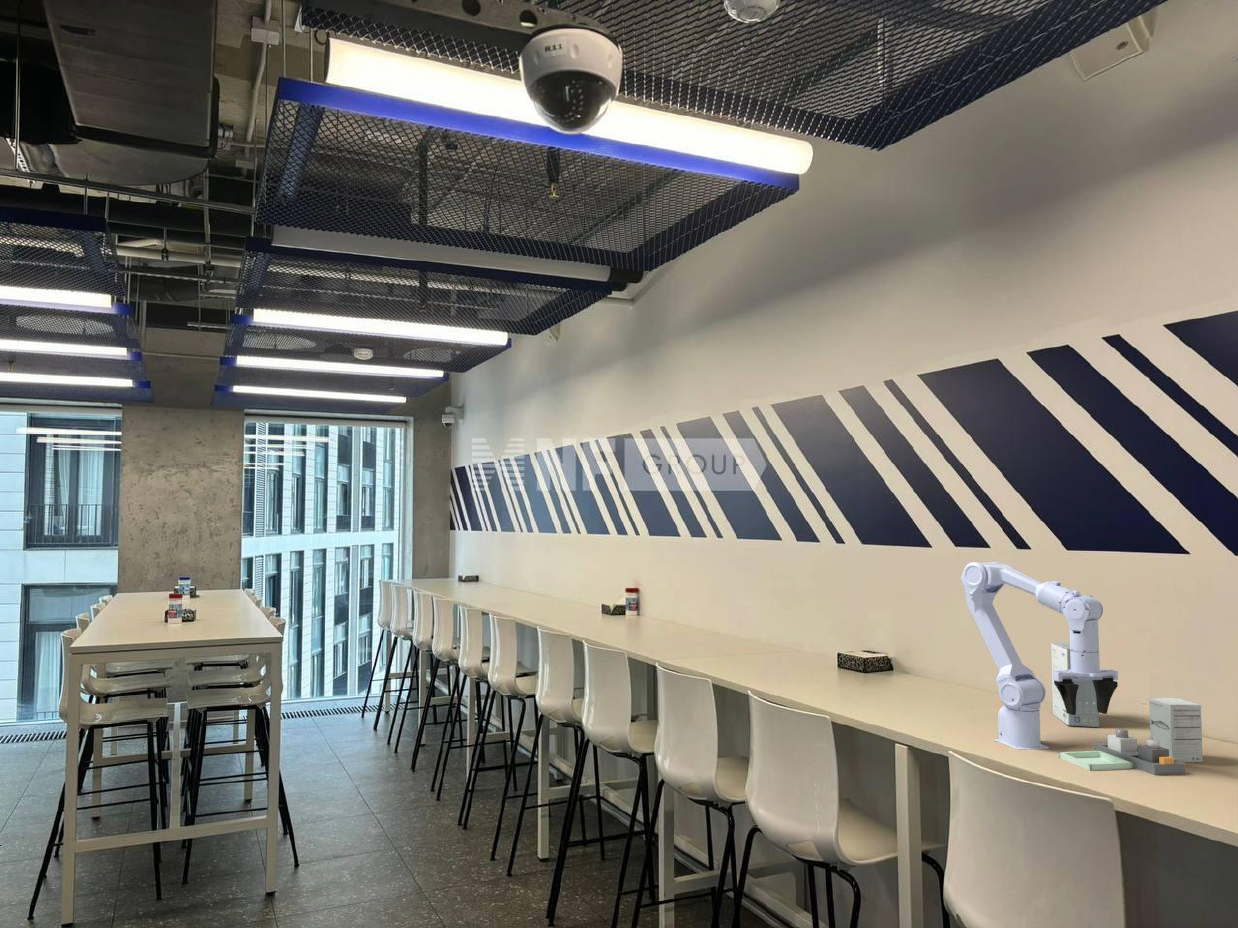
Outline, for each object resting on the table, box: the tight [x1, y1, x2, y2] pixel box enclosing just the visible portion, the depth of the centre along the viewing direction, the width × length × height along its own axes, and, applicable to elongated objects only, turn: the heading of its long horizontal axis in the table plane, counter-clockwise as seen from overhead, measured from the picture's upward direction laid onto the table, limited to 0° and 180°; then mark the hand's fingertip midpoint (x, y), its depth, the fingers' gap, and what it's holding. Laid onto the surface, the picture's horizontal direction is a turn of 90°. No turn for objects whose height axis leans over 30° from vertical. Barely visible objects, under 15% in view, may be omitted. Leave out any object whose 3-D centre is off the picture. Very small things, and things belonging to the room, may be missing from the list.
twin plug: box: [1107, 728, 1138, 752], centre depth 196 cm, size 4×4×6 cm
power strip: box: [1093, 742, 1186, 776], centre depth 191 cm, size 18×7×4 cm, turn 9°
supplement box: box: [1148, 697, 1204, 763], centre depth 198 cm, size 7×7×13 cm
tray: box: [1058, 750, 1134, 771], centre depth 191 cm, size 10×10×2 cm
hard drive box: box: [1050, 641, 1100, 728], centre depth 235 cm, size 16×8×20 cm, turn 168°
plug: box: [1137, 738, 1169, 763], centre depth 187 cm, size 4×4×6 cm
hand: (1086, 713), depth 194 cm, fingers open, 7 cm apart
